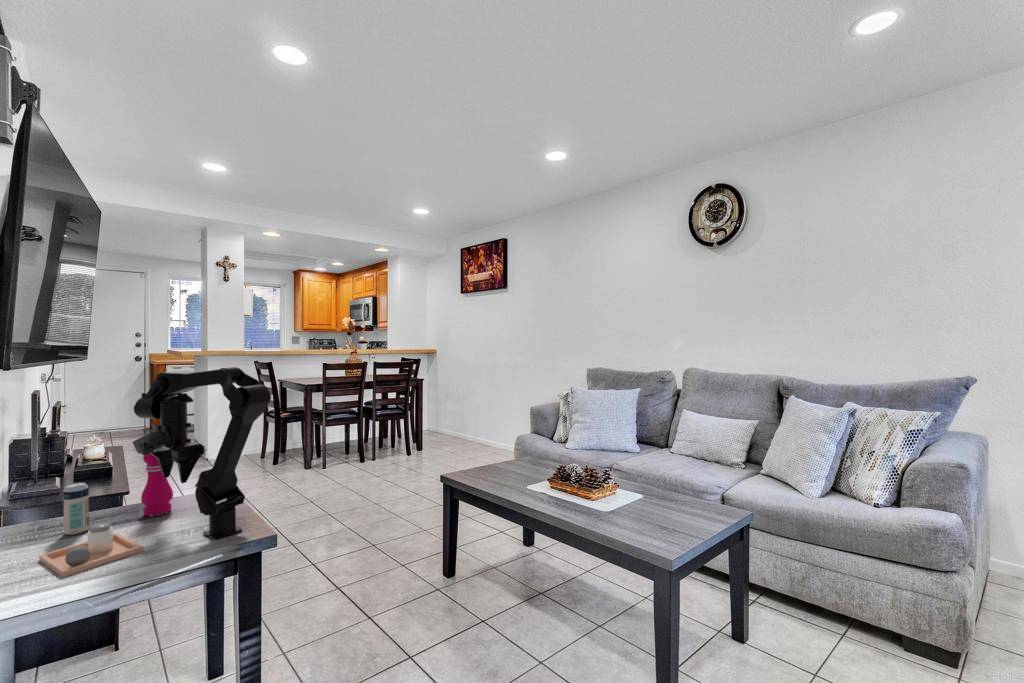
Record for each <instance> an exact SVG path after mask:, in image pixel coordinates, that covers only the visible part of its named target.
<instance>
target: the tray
mask: <svg viewBox="0 0 1024 683" xmlns="http://www.w3.org/2000/svg"><path fill="white" fill-rule="evenodd" d="M79 546H83V547H86V548H88V540H87V541H84V542H80V543H77V544H73V545H70V546H67V547H64V548H63V547H62V548H60V549H57V550H52V551H49V552H45V553H43V554H39V556H38V557H39V558H38V559H39V562H41V563H43V564H44V565H45V566H46V567H48V568H49V569H51V570H52V571H53V572H55V573H56V574H57V575H58V576H60V577H61V578H64V577H68V576H72V575H74V574H77V573H80V572H83V571H85V570H89V569H92V568H95V567H98V566H102V565H105V564H108V563H111V562H113V561H116V560H120V559H123V558H127V557H129V556H132V555H136V554H138V553H141V552H144V546H143V545H142V544H140V543H138V542H136V541H134V540H132V539H131V538H128V537H126V536H124V535H122V534H120V533H118V532H116V533H115V532H114V533H113V549H112V550H110V551H108V552H105V553H102V554H97V555H90V558H89V559H88V561H87V562H86V563H84V564H81V565H77V566H74V567H72V566H69V565H68V564H67V563H66V561H65V558H66V555H67V553H68V552H69V551H70V550H71V549H73V548H75V547H79Z"/></svg>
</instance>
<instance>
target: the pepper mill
mask: <svg viewBox="0 0 1024 683" xmlns="http://www.w3.org/2000/svg"><path fill="white" fill-rule="evenodd" d="M142 456H143V458H142V459H143V460H142V461H143V462H144V463H145V464H146V466H145V472H147V480H146V484H145V486H144V488H143V491H142V493H141V499H140V501H141V504H142V505H144V506H145V507H144V508H143V516H144V515H148V516H147V517H151V516H150V515H157V514H162V513H166V512H168V511H170V510H171V511H172V504H171V500H172V499H173V497H174V490H173V488H172V486H171V484H170V483H169V481H168V479H167V478H168V477H166V478H165V477H164V476H163V473H162V471H161V468H160V465H159V463H158V460H157V458H156V457H155V456H153V455H151V454H147V455H142ZM171 511H170V512H171ZM168 513H169V512H168ZM166 514H167V513H166Z"/></svg>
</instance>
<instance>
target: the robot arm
mask: <svg viewBox="0 0 1024 683" xmlns="http://www.w3.org/2000/svg"><path fill="white" fill-rule="evenodd" d="M234 384H236V385H237V387H236V386H235V385H234ZM213 385H219V386H221V388H222V393H223V397H225V398H226V399H227V401H229V405H228V409H229V412H230V416H231V419H230V422H229V423H228V427H227V429H226V431H225V434H224V437H223V440H222V442H221V445H220V447H219V450H218V453H217V456H216V458H215V461H214V463H213V466H212V468H210V469H207V470H203V471H201V472H200V473H199V476H198V480H197V482H196V483H195V485H194V487H195V492H194V493H195V500H196V502H197V506H198V510H199V513H200V514H203V515H204V516H208V527H209V529H207V530H205V531H203V532H202V535H204V536H207V537H209V538H211V539H213V540H219V539H222V538H225V537H229V536H231V535H234V534H237V533H240V532H242V531H243V528H241V527H239V526H237V525H236V523H237V514H236V513H237V512H236V511H237V510H236V509H237V508H236V506H239V505H243V504H244V501H245V499H246V496H245V494H244V493H243V492H242V490H241V489H240V488H239V486H238V480H239V479H238V477H237V473H236V469H237V467H238V463H239V461H240V458H241V455H242V453H243V451H244V448H245V446H246V443H247V441H248V438H249V435H250V432H251V430H252V428H253V425H254V422H256V420H257V419H258V418H260V416H261V415H262V414H264V412H265V411H266V409H267V408H268V406H269V404H270V402H271V400H272V395H271V392H270V390H269V389H268V387H267V386H265V385H263V384H262V383H261V381H259V380H258V379H256V378H254V377H252V375H251V376H250V375H248V374H247V373H245V372H244V371H243V370H242V369H241V368H239V367H237V366H230V367H221V368H219V369H212V370H205V371H198V372H197V371H196V372H194V371H189V370H177V371H165V372H163V371H162V372H159V373H158V374H156V378H155V379H154V380H153V382H152V384H151V386H150V387H149V389H148V391H147V392H142V393H141V397H140V398H139V399H138V400H137V401H136V402H135V405H134V406H133V412H134V414H135V415H136V416H137V417H138V418H141V419H153V420H155V419H156V420H159V421H160V424H157V425H156V426H155V431H153V432H150V433H148V434H146V435H143V436H141V437H139V438H137V439H135V440H133V441H132V445H133V447H134V448H135V451H136V453H137V454H141V455H142V456H144V455H147V454H151V455H153V456H155V457H156V458H157V460H158V463H159V465H160V468H161V471H162V473H163V476H164V477H165V478H166V477H167V478H169V477H170V476H171V472H172V469H173V466H174V463H176V464H177V467H178V473H179V479H180V483H181V484H185V483H187V482H188V479H189V478H190V476H191V474H192V472H193V470H194V468H195V466H196V464H197V463H198V461H199V460H200V458H202V456H203V455H205V454H206V452H205V449H206V448H205V447H206V446H205V445H203V444H202V443H200V442H195V441H193V442H192V438H190V437H188V428H191V427H192V423H191V422H189V421H188V404H189V403H193V402H194V399H193V398H192V397H191V396H189V395H188V393H187V392H190V391H193V390H195V389H196V388H198V387H205V386H213ZM238 386H239V387H238ZM223 500H224V501H223ZM217 502H218V503H217Z"/></svg>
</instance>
